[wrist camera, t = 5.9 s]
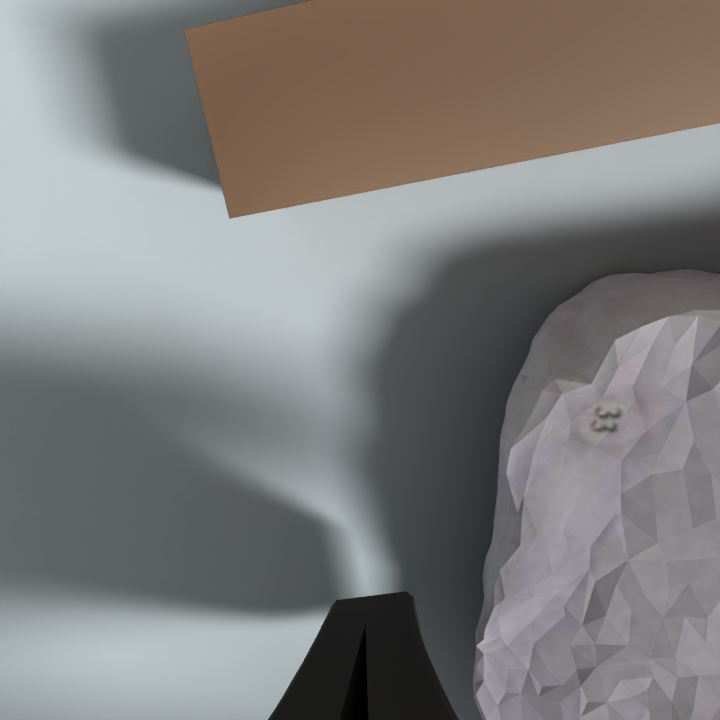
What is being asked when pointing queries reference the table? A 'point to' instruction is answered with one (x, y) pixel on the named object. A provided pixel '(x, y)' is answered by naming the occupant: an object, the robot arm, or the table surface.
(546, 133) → the dock
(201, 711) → the table surface
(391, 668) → the robot arm
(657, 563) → the stone block
